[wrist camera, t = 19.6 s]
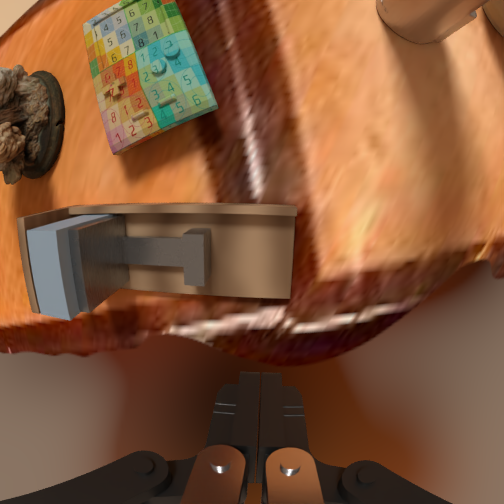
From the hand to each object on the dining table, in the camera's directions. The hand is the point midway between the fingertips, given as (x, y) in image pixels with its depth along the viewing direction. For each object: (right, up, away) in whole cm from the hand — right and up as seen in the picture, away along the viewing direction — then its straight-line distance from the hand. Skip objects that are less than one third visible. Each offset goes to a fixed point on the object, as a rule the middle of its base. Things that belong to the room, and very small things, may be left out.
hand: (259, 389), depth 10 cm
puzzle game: (-12, +27, +17) cm, 34 cm away
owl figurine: (-30, +23, +19) cm, 43 cm away
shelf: (-9, +6, +22) cm, 24 cm away
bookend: (-10, +5, +20) cm, 23 cm away
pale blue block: (-18, +6, +21) cm, 28 cm away
